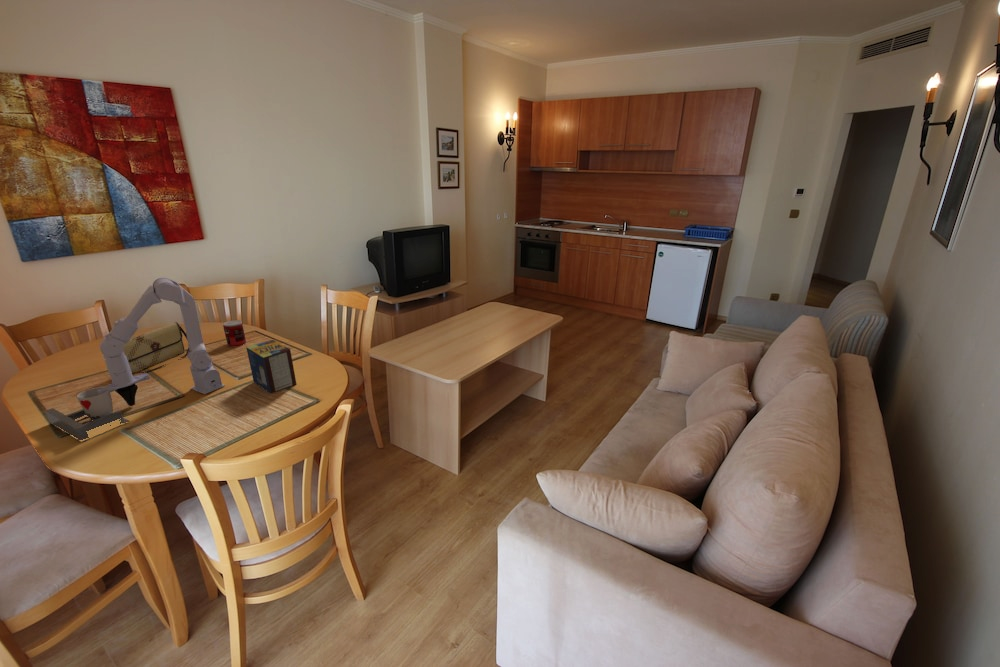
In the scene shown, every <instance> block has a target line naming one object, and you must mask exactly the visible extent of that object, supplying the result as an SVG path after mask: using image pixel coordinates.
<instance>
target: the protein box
mask: <svg viewBox="0 0 1000 667" xmlns="http://www.w3.org/2000/svg"><path fill="white" fill-rule="evenodd" d="M246 352H247V358H248V362H249V365H250V370H251V376H252V380H253V383H254V384H256V385H258V386H259V385H260V386H259V387H261V388H262V389H263V388H264V390H265V391H266V390H267V391H266V392H267V393H271V394H274V393H276V391H277V392H278V390H280V391H282V390H285V389H287V388H291V387H293V386H296V385H297V379H296V373H295V368H294V363H293V358H292V357H293V356H292V352H291V348H289V347H287V346H285V345H283V344H281V343H279V342H278V341H275V340H274V339H271V340H266V341H262V342H260V343H255V344H251V345H249V346H246ZM273 392H274V393H273Z"/></svg>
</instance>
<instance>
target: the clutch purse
mask: <svg viewBox="0 0 1000 667" xmlns="http://www.w3.org/2000/svg"><path fill="white" fill-rule="evenodd" d="M183 336H184V337H185V339H186V340H187V335H186V331H185V330H184V329H183V328H182V325H180V324H179V323H178V322H177V321H175V322H173V323H170V324H166V325H165V326H161V327H159V328H156V329H153V330H150V331H147V332H144V333H142V334H138V335H136V336H132V337H131V338H130V340H129V341H128V342H127V343H126V344H124V345H123V346H124V354H125V356H126V357H127V360H128V363H129V366H130V369H131V372H132V373H134V374H145V373H147V372H146V371H149V372H153V371H155V370H158V369H161V368H163V367H162V366H164V365H165V364H163V365H160V366H157V367H155V368H151V369H149V368H150V366H151V367H153V366H155V365H158V364H160V363H162V362H164V360H165V361H166V360H169V359H171V357H172V358H174V357H176V356H178V354H179V355H181V354H184V353H185V346H184V345H185V344H184V342H183ZM187 348H188V349H187V351H186V353H185V354H184V355H183V356H181V357H180V358H182V359H184V358H186V357H187V354H188V351H189V347H188V346H187ZM157 363H158V364H157ZM164 367H165V366H164ZM144 368H146V369H148V370H145V369H144ZM141 369H143V370H145V371H142V370H141ZM139 370H141V371H139ZM152 370H153V371H152ZM137 371H139V372H137ZM144 372H145V373H144Z"/></svg>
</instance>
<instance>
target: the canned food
mask: <svg viewBox="0 0 1000 667" xmlns="http://www.w3.org/2000/svg"><path fill="white" fill-rule="evenodd" d="M243 325H244V324H243V322H242V320H237V319H235V320H228V321H225V322H224V323H222V327H223V330H224V336H225V339H226V344H227V345H228V347H231V346H236V347H241V346H243V344H244V345H245V344H246V342H247V340H246V335H245V334H246V333H245V330H244V326H243ZM240 345H241V346H240Z"/></svg>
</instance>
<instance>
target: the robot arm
mask: <svg viewBox="0 0 1000 667" xmlns="http://www.w3.org/2000/svg"><path fill="white" fill-rule="evenodd" d="M162 301H168V302H174V303H175V304H177V305H178V306H179V307H180V312H181V316H182V320H183V321H182V322H183V325H184V329H185V330H184V332H185V333H186V335H187V339H186V340H187V342H188V343H187V344H188V346H187V348H188V347H189V351H188V350H187V351H188V354H187V356H186V357H187V358H188V360H189V362H190V363H191V364H190V367H189V368H190V372H191V376H192V381H193V384H194V386H191V387H190V389H191V390H193V391H196V392H198V393H201V394H202V395H206V394H208V393H211V392H213V391H216V390H219V389H221V388H223V387H226V384H224V383H222V379H221V378H222V377H221V374H220V372H219V371H218V370H217V369H216V368H215V367H214V365H213V362H212V357H211V356H210V355H209V354H208V352H207V349H206V345H205V344H204V338H203V334H202V329H201V325H200V324H201V323H200V320H199V314H198V310H197V309H198V308H197V307H196V306H197V304H196V300H195V298H194V297H193V295H192V294H191V293H189V291H187V290H186V289H185V288H183V287H182V286H181V285H180V284H179V283H178V282H177V281H175V280H173V279H170V278H169V277H159V278H157V279H155V280H154V281H153V282H152V285H149V287H147V289H146V290H145V291H144V292H143V294H142V295H141V297H140V298H139V299H138V300H137V303H136V304H135V305H134V306H133V308H132V309H131V311H130V312H129V314H128V315H127V317H124V318H123V317H122V318H119V319H118V321H117V320H115V321H114V322H113V327H112V329H111V330H110V331H109V333H108V334H107V333H105V335H104V337H103V339H101V340H100V343H99V349H100V352H101V354H102V355H103V359H104V360H105V361H104V362H105V365H106V369H107V372H108V373H109V374H108V375H109V376H110V380H111V383H110V384H108V385H106V386H102V387H103V388H101V389H99V390H97V392H98V394H99V395H100V394H103V393H105V392H106V391H107V390H108V388H109V391H110V393H112V392H115V393H117V394H118V395H119V396H120V397H121V398H122V399H123V400H124V401H125V402H126V405H128V406H129V407H133V406H135V405H136V395H137V391H138V389H139V386H138V385H137V384H138V383H142V382H143V381H149V380H150V379H151V378H150V375H149V373H147V372H145V373H141V374H138V375H135V376H134V374H132V372H131V369H130V366H129V363H128V360H127V357H126V356H125V354H124V346H123V345H124V344H126V343H127V342H128V341H129V340H130V338H133V337H134V335H135V333H136V332H137V331H138V329H139V327H140V326H139V325H138V323H139V321H140V320H141V318H143V316H144V315H145V314H146V312H148V310H149V309H150V308H151V307H152V306H153V305H156V304H159V303H162ZM105 387H107V388H105Z"/></svg>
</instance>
